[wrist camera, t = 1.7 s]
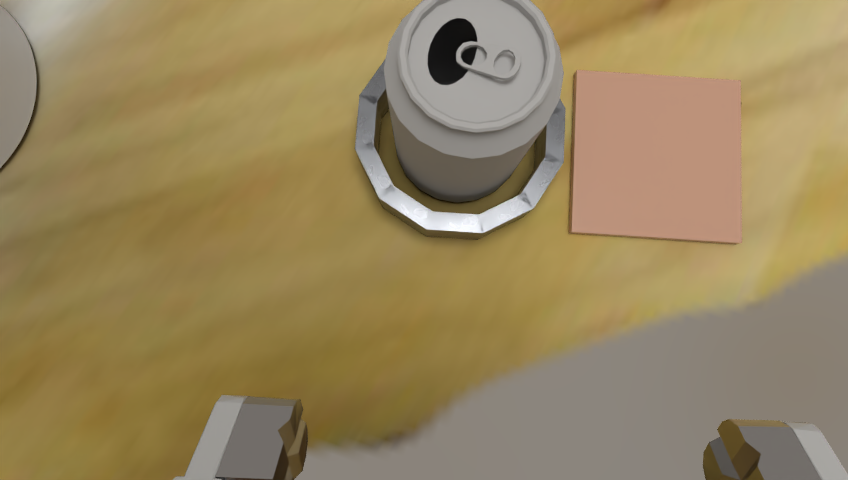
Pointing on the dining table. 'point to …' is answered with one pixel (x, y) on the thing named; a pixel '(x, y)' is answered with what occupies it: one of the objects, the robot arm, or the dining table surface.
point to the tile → (656, 157)
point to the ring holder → (445, 223)
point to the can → (470, 92)
